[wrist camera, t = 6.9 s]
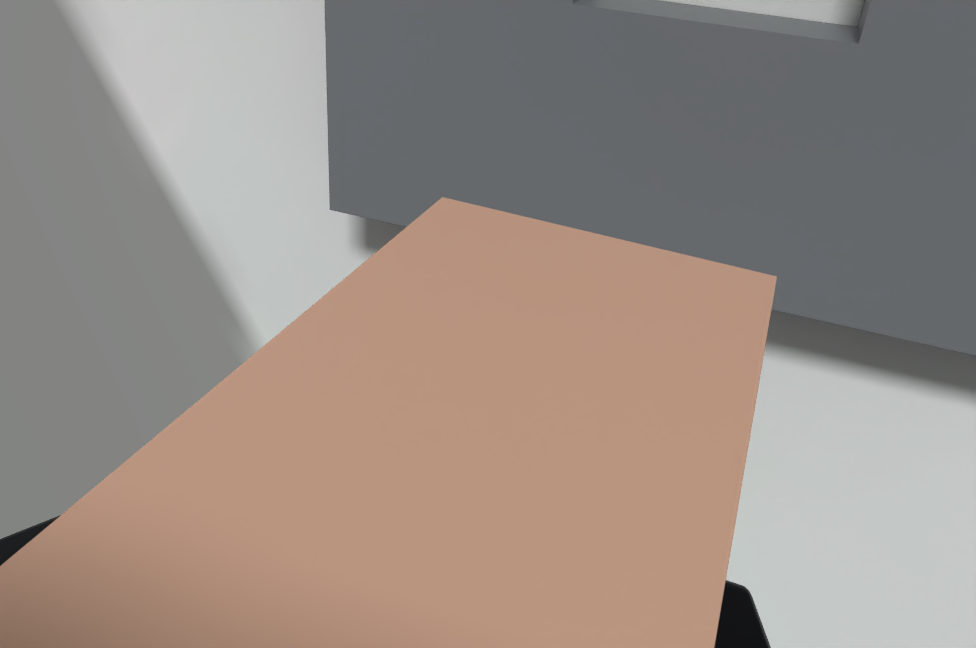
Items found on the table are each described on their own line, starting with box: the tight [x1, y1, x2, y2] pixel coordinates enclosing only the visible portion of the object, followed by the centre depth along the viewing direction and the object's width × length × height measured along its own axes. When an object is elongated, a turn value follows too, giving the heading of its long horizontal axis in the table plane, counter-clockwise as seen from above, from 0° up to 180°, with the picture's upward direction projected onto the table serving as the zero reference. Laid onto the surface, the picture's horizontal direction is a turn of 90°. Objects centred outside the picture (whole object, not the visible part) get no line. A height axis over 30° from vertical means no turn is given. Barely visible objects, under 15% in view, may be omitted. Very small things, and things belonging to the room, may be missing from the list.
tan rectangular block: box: [0, 197, 777, 648], centre depth 7 cm, size 4×4×8 cm
